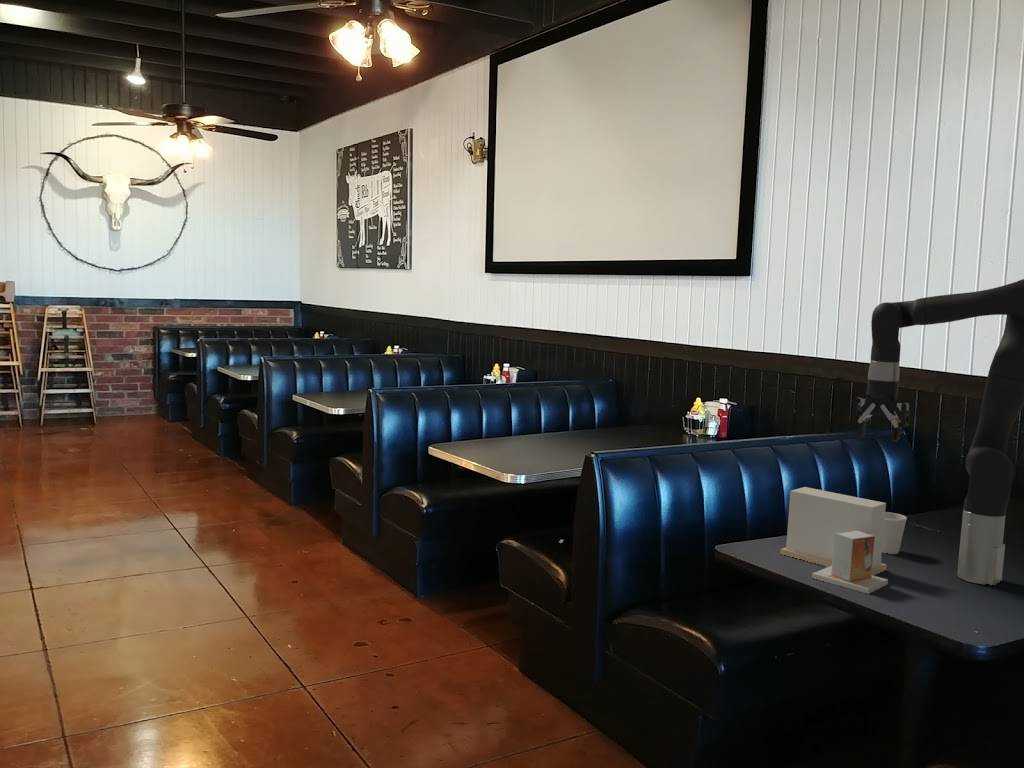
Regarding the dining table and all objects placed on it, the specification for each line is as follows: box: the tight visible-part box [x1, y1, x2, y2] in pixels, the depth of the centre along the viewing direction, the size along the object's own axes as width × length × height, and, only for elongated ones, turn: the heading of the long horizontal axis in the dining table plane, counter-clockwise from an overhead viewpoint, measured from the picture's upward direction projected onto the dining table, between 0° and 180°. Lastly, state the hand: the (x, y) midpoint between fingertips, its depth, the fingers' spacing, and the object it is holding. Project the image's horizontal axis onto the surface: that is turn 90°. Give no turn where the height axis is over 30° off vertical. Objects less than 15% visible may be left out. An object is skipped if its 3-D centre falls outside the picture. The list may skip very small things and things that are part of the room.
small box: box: [831, 531, 875, 581], centre depth 209 cm, size 8×6×10 cm
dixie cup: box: [882, 511, 908, 555], centre depth 237 cm, size 8×8×10 cm
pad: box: [811, 565, 889, 595], centre depth 210 cm, size 14×11×1 cm
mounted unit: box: [779, 486, 887, 576], centre depth 224 cm, size 24×10×18 cm, turn 44°
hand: (878, 439), depth 228 cm, fingers open, 8 cm apart
